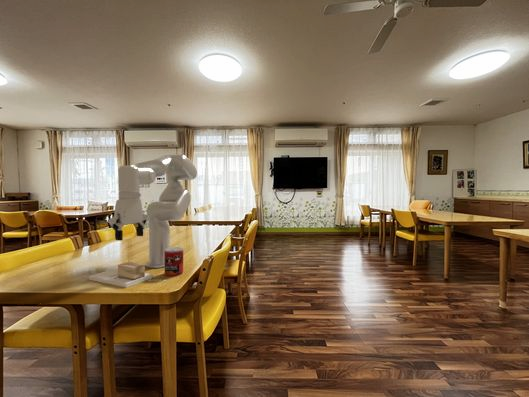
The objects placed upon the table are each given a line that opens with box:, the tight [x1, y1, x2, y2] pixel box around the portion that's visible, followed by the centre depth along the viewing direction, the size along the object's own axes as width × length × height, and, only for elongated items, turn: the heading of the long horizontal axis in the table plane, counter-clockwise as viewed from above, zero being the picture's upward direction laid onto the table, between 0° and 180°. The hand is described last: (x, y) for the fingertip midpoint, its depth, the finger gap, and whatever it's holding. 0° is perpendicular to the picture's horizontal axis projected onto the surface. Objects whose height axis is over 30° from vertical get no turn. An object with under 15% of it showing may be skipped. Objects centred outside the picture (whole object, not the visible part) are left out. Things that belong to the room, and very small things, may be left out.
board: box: [88, 267, 154, 288], centre depth 100 cm, size 12×22×2 cm, turn 67°
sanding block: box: [117, 261, 146, 280], centre depth 98 cm, size 5×9×5 cm, turn 67°
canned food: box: [164, 246, 184, 277], centre depth 107 cm, size 8×8×11 cm
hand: (129, 238), depth 99 cm, fingers open, 9 cm apart
